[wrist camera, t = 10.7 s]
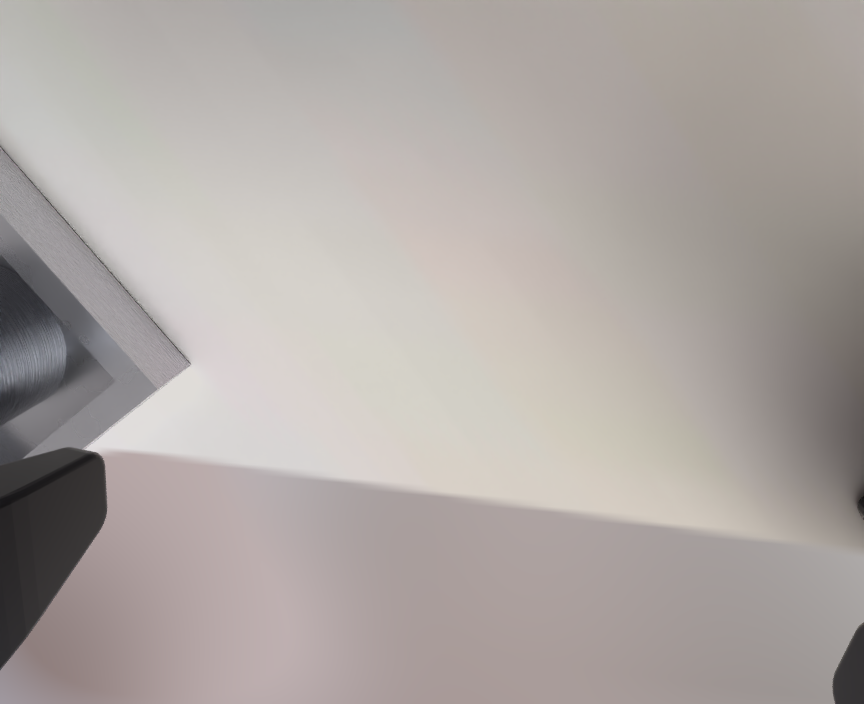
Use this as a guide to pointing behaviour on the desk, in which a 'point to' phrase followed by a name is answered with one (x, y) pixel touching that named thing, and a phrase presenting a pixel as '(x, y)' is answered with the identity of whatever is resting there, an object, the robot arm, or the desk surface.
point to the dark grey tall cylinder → (27, 347)
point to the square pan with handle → (77, 328)
